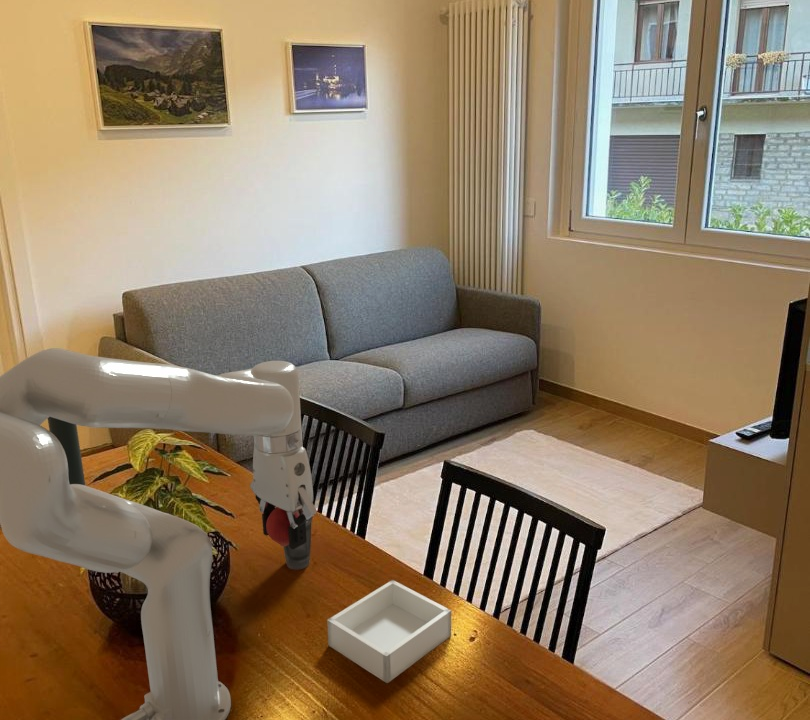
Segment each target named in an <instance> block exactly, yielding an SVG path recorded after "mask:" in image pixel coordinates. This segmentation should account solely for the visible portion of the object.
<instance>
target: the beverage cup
mask: <svg viewBox="0 0 810 720" xmlns="http://www.w3.org/2000/svg"><path fill="white" fill-rule="evenodd" d="M296 512H297V513H298V514H299V511H298V510H297V511H296ZM313 518H314V515H313V516H312V517H311V518H310V519H309V520H308V522H306V540H307V541H306V543H304V544H303V545H301V546H299V547H297V548H295V549H291V548H290V547H289V545H287V546H282V547H283V552H284V553H283V554H284V558H285V561H286V567H288V569H291V570H303V569H306V568H307V567H308V566H309V565H310V562H311V561H310V560H311V547H312V546H311V545H312V521H313Z"/></svg>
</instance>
